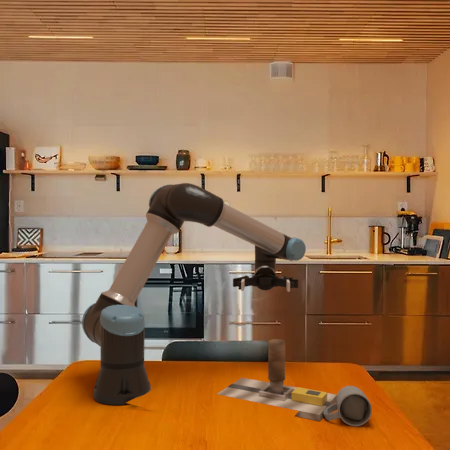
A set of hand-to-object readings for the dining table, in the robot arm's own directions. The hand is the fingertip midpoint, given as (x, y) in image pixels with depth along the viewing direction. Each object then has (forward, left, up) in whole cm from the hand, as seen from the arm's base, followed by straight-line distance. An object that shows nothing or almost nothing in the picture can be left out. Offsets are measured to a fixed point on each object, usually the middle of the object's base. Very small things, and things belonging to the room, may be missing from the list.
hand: (265, 286), depth 142 cm
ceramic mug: (+28, -15, -28) cm, 43 cm away
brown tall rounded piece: (+9, -12, -26) cm, 30 cm away
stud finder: (+18, -12, -26) cm, 34 cm away
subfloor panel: (+9, -12, -28) cm, 32 cm away
